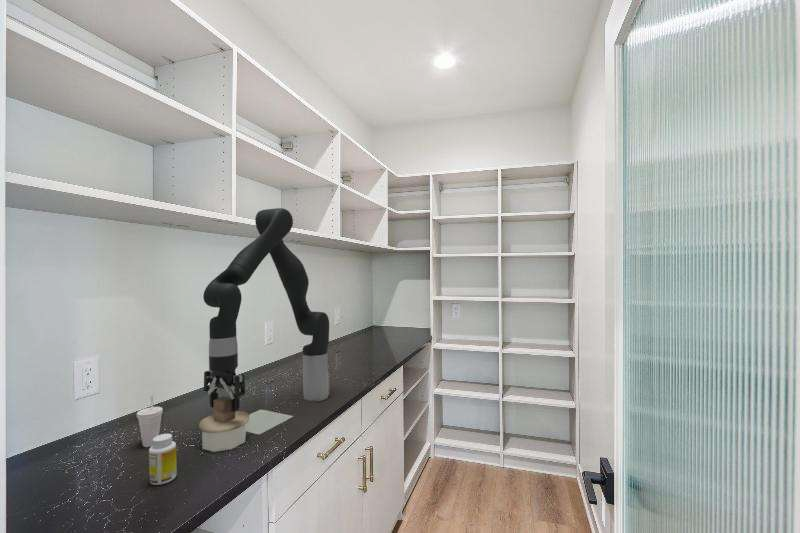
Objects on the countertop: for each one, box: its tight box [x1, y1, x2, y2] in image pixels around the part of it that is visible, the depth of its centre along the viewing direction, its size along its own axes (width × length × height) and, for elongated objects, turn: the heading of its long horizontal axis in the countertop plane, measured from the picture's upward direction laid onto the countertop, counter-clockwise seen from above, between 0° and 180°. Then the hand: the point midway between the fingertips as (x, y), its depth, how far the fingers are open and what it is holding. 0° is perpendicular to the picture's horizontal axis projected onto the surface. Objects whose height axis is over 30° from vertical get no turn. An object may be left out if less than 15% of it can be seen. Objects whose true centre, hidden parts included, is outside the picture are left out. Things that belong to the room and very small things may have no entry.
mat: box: [246, 409, 294, 436], centre depth 123 cm, size 15×15×1 cm
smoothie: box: [136, 394, 164, 448], centre depth 109 cm, size 6×6×14 cm
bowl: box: [201, 424, 247, 453], centre depth 109 cm, size 11×11×6 cm
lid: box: [198, 395, 250, 433], centre depth 109 cm, size 13×13×7 cm
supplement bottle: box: [148, 433, 178, 486], centre depth 91 cm, size 6×6×10 cm
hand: (224, 408), depth 109 cm, fingers open, 8 cm apart
